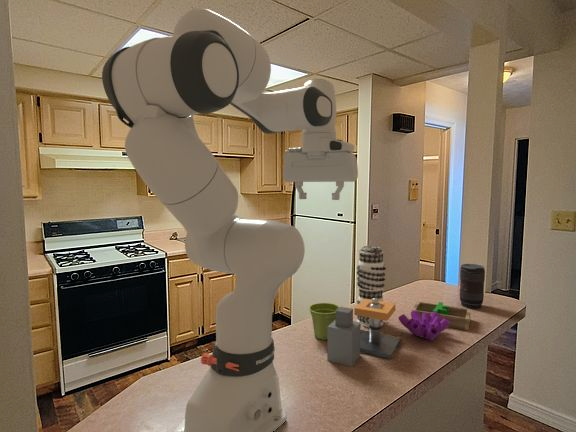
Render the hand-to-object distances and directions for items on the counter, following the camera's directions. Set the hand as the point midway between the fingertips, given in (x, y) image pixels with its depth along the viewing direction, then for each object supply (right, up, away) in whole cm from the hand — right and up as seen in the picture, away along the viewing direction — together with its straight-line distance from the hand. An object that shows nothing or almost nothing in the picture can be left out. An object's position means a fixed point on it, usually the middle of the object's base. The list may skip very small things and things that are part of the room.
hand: (318, 199), depth 96 cm
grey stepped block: (+7, -42, 0) cm, 42 cm away
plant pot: (+3, -41, +13) cm, 43 cm away
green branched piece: (+43, -39, +25) cm, 63 cm away
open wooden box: (+43, -39, +25) cm, 63 cm away
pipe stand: (+16, -41, +7) cm, 44 cm away
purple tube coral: (+33, -40, +14) cm, 54 cm away
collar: (+16, -31, +6) cm, 36 cm away
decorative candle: (+19, -39, +24) cm, 50 cm away
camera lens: (+59, -38, +39) cm, 80 cm away
